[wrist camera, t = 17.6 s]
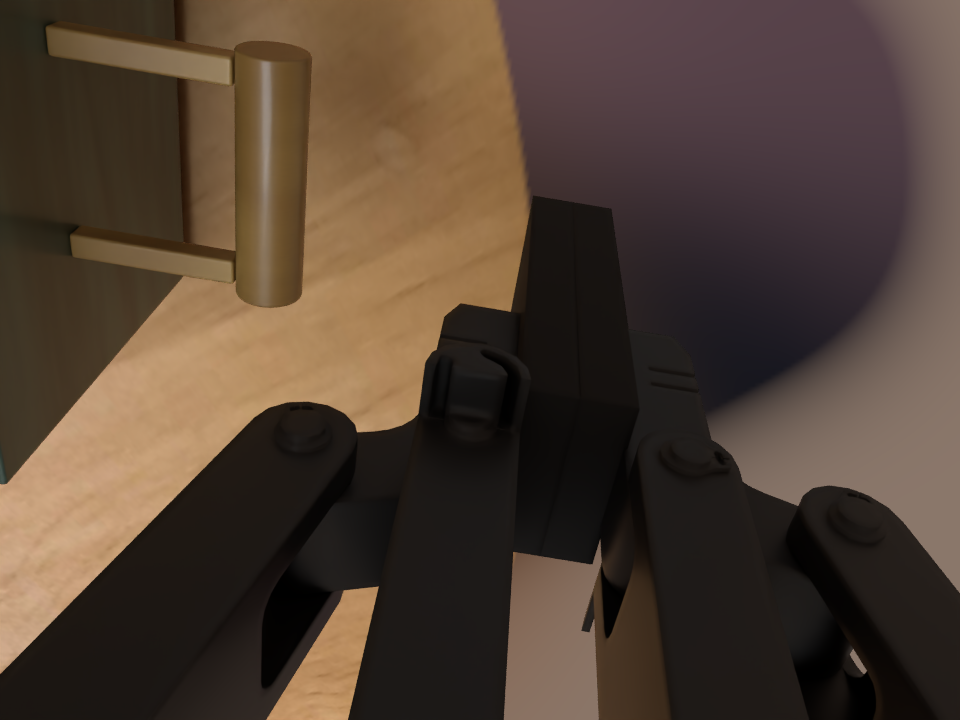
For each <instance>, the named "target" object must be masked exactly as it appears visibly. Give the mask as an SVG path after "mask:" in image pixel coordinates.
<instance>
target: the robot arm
mask: <svg viewBox="0 0 960 720" xmlns="http://www.w3.org/2000/svg"><path fill="white" fill-rule="evenodd" d="M694 376H695V373H694V369H693V365H692V361H691V357H690V355H689V354H688V353H687V351H685V349H684V348H683V347H682V346H681V345H680V344H679V343H678V341H677V340H676V339H675V338H674V337H671V336H665V335H659V334H653V333H647V332H641V331H635V330H629V329H628V323H627V316H626V309H625V302H624V295H623V287H622V280H621V274H620V267H619V260H618V252H617V246H616V238H615V232H614V225H613V217H612V210H611V209H609V208H602V207H597V206H591V205H585V204H579V203H574V202H568V201H562V200H555V199H550V198H544V197H538V196H533V199H532V204H531V210H530V215H529V220H528V225H527V230H526V236H525V241H524V246H523V251H522V257H521V262H520V267H519V272H518V277H517V283H516V288H515V293H514V298H513V304H512V309H511V312H508V311H503V310H497V309H491V308H485V307H479V306H473V305H467V304H461V303H460V304H459V305H458V306H457V307H456V308H454V309H453V310H452V311H451V312H450V313H448V314H447V315H446V316H445V317H444V321H443V325H442V329H441V334H440V338H439V342H438V347H437V350H435V351H434V352H432V353H431V355H430V356H429V358H428V359H427V361H426V362H425V370H424V377H423V385H422V392H421V400H420V407H419V414H418V415H417V416H416V417H415V418H414V419H413V420H411V421H409V422H408V423H406V424H404V425H402V426H399V427H396V428H393V429H389V430H382V431H375V432H357V431H356V427H355V424H354V423H353V422H352V421H351V420H350V419H349V418H348V417H347V416H346V415H345V414H344V413H342V412H340V411H338V410H336V409H334V408H332V407H330V406H328V405H323V404H317V403H312V402H289V403H284V404H281V405H277V406H274V407H270V408H268V409H266V410H265V411H263V412H262V413H260V414H259V415H258V416H256V417H255V418H254V419H253V420H252V421H251V422H250V423H249V424H248V425H247V426H246V427H245V428H244V429H243V430H242V431H241V432H240V433H239V434H238V435H237V436H236V437H235V438H234V439H233V440H232V441H231V442H230V443H229V444H228V445H227V446H226V447H225V448H224V449H223V450H222V451H221V452H220V453H219V454H218V455H217V456H216V457H215V458H214V459H213V460H212V461H211V462H210V463H209V464H208V465H207V466H206V467H205V468H204V469H203V470H202V471H201V472H200V473H199V474H198V475H197V476H196V477H195V478H194V479H193V480H192V481H191V482H190V483H189V484H188V485H187V486H186V487H185V488H184V489H183V490H182V491H181V492H180V493H179V494H178V495H177V496H176V497H175V498H174V499H173V500H172V501H171V502H170V503H169V504H168V505H167V506H166V507H165V508H164V509H163V510H162V511H161V512H160V513H159V514H158V515H157V517H156V518H155V519H154V520H153V521H152V522H151V523H150V524H149V525H148V526H147V527H146V528H145V529H144V530H143V531H142V532H141V533H140V534H139V535H138V536H137V537H136V538H135V539H134V540H133V541H132V542H131V543H130V544H129V545H128V546H127V547H126V548H125V549H124V550H123V551H122V552H121V553H120V554H119V555H118V556H117V557H116V558H115V559H114V560H113V561H112V562H111V563H110V564H109V565H108V566H107V567H106V568H105V569H104V570H103V571H102V572H101V573H100V574H99V575H98V576H97V577H96V578H95V579H94V580H93V581H92V582H91V583H90V584H89V585H88V586H87V587H86V588H85V589H84V590H83V591H82V592H81V593H80V594H79V595H78V596H77V597H76V598H75V599H74V600H73V601H72V602H71V603H70V604H69V605H68V606H67V607H66V608H65V609H64V610H63V611H62V612H61V613H60V614H59V615H58V617H57V618H56V619H55V620H54V621H53V622H52V623H51V624H50V625H49V626H48V627H47V628H46V629H45V630H44V631H43V632H42V633H41V634H40V635H39V636H38V637H37V638H36V639H35V640H34V641H33V642H32V643H31V644H30V645H29V646H28V647H27V648H26V649H25V650H24V651H23V652H22V653H21V654H20V655H19V656H18V657H17V658H16V659H15V660H14V661H13V662H12V663H11V664H10V665H9V666H8V667H7V668H6V669H5V670H4V671H3V672H2V673H1V674H0V720H266V719H267V717H268V716H269V714H270V713H271V711H272V709H273V708H274V706H275V705H276V703H277V701H278V700H279V698H280V697H281V695H282V693H283V692H284V690H285V689H286V687H287V685H288V684H289V682H290V681H291V679H292V677H293V676H294V674H295V673H296V671H297V669H298V668H299V666H300V665H301V663H302V661H303V660H304V658H305V657H306V655H307V653H308V652H309V650H310V649H311V647H312V645H313V644H314V642H315V641H316V639H317V637H318V636H319V634H320V633H321V631H322V629H323V628H324V626H325V625H326V623H327V621H328V620H329V618H330V616H331V615H332V613H333V612H334V610H335V608H336V607H337V605H338V604H339V602H340V600H341V597H342V594H343V591H344V590H350V589H359V588H369V587H378V586H379V588H378V593H377V597H376V601H375V606H374V610H373V614H372V619H371V623H370V627H369V632H368V636H367V640H366V645H365V649H364V653H363V658H362V662H361V666H360V670H359V675H358V679H357V683H356V688H355V692H354V696H353V701H352V705H351V709H350V714H349V718H348V720H504V703H505V686H506V669H507V668H506V667H507V651H508V633H509V616H510V598H511V580H512V563H513V552H519V553H525V554H531V555H537V556H543V557H550V558H555V559H562V560H568V561H574V562H580V563H586V564H593V560H594V557H595V554H596V550H597V547H598V544H599V541H600V540H601V557H602V563H601V567H600V570H599V573H598V576H597V580H596V583H595V586H594V589H593V592H592V596H591V598H590V602H589V605H588V608H587V611H586V614H585V618H584V622H583V626H582V631H586V632H590V628H591V626H592V622H593V619H595V639H596V641H595V642H596V663H597V664H596V665H597V687H598V709H599V720H960V593H959V592H958V590H956V588H955V587H954V585H953V584H952V583H951V582H950V580H949V579H948V578H947V577H946V575H945V574H944V573H943V572H942V570H941V569H940V568H939V567H938V565H937V564H936V563H935V562H934V560H933V559H932V558H931V556H930V555H929V554H928V553H927V551H926V550H925V549H924V548H923V547H922V545H921V544H920V543H919V542H918V540H917V539H916V538H915V536H914V535H913V534H912V533H911V531H910V530H909V529H908V528H907V526H906V525H905V524H904V523H903V522H902V521H901V520H900V519H899V518H898V517H897V516H896V515H895V514H894V513H893V512H892V511H891V510H890V509H889V508H888V507H886V506H885V505H883V504H881V503H879V502H878V501H876V500H875V499H873V498H872V497H870V496H868V495H865V494H863V493H860V492H858V491H855V490H852V489H849V488H842V487H836V486H824V487H817V488H813V489H811V490H810V491H809V492H807V493H806V494H805V495H804V496H803V497H802V499H801V502H800V504H799V506H796V505H794V504H791V503H789V502H786V501H783V500H781V499H778V498H775V497H773V496H770V495H768V494H765V493H763V492H761V491H758V490H756V489H754V488H752V487H750V486H748V485H747V484H745V483H744V482H742V478H741V474H740V471H739V468H738V466H737V464H736V462H735V461H734V459H733V457H732V455H731V454H729V453H728V452H727V451H726V450H725V449H724V448H723V447H722V446H720V445H719V444H717V443H716V442H714V441H712V440H711V436H710V432H709V428H708V424H707V420H706V416H705V412H704V409H703V405H702V401H701V397H700V394H699V393H698V390H699V389H698V385H697V381H696V378H694ZM853 649H854V651H855V652H856V654H857V655H858V657H859V658H860V660H861V662H862V663H863V665H864V667H865V668H866V670H867V672H866V673H865V674H863V673H862V672H861V671H860V670H859V668H858V667H857V666H856V664H855V663H854V661H853V660H852V658H851V656H850V653H851V651H852V650H853Z"/></svg>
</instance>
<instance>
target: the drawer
mask: <svg viewBox="0 0 960 720" xmlns="http://www.w3.org/2000/svg"><path fill="white" fill-rule="evenodd" d="M311 64H312V56H311V54H310V52H308V51H307V50H305V49H303V48H300V47H297V46H294V45H290V44H285V43H280V42H271V41H250V42H244V43H240V44H238V45H237V46H236V47H235V51H233V50H227V49H221V48H215V47H210V46H204V45H198V44H192V43H186V42H180V41H175V19H174V0H0V484H7V483H8V482H9V481H10V479H11V478H12V477H13V476H14V475H15V474H16V472H17V471H18V470H19V469H20V468H21V467H22V465H23V464H24V463H25V462H26V461H27V460H28V458H29V457H30V456H31V455H32V454H33V452H34V451H35V450H36V449H37V448H38V447H39V445H40V444H41V443H42V442H43V441H44V440H45V438H46V437H47V436H48V435H49V434H50V432H51V431H52V430H53V429H54V428H55V427H56V425H57V424H58V423H59V422H60V421H61V420H62V418H63V417H64V416H65V415H66V414H67V412H68V411H69V410H70V409H71V408H72V407H73V405H74V404H75V403H76V402H77V401H78V400H79V398H80V397H81V396H82V395H83V394H84V393H85V391H86V390H87V389H88V388H89V387H90V385H91V384H92V383H93V382H94V381H95V380H96V378H97V377H98V376H99V375H100V374H101V373H102V371H103V370H104V369H105V368H106V367H107V365H108V364H109V363H110V362H111V361H112V360H113V358H114V357H115V356H116V355H117V354H118V353H119V351H120V350H121V349H122V348H123V347H124V345H125V344H126V343H127V342H128V341H129V340H130V338H131V337H132V336H133V335H134V334H135V333H136V331H137V330H138V329H139V328H140V327H141V326H142V324H143V323H144V322H145V321H146V320H147V318H148V317H149V316H150V315H151V314H152V313H153V311H154V310H155V309H156V308H157V307H158V306H159V304H160V303H161V302H162V301H163V300H164V298H165V297H166V296H167V295H168V294H169V293H170V291H171V290H172V289H173V288H174V287H175V286H176V284H177V283H178V282H179V281H180V280H181V278H182V277H183V276H188V277H194V278H200V279H206V280H212V281H218V282H224V283H230V284H231V283H234V281H235V280H236V293H237V295H238V297H239V298H240V299H241V300H243V301H244V302H246V303H248V304H251V305H255V306H259V307H268V308H274V307H283V306H287V305H290V304H292V303H294V302H296V301H297V300H298V299H299V298H300V297H301V295H302V282H303V257H304V233H305V209H306V185H307V161H308V136H309V112H310V88H311ZM177 78H183V79H189V80H195V81H201V82H206V83H212V84H218V85H224V86H232V85H234V84H235V238H236V251H231V250H226V249H220V248H214V247H208V246H202V245H196V244H190V243H184V241H183V216H182V192H181V167H180V142H179V118H178V93H177Z"/></svg>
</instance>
